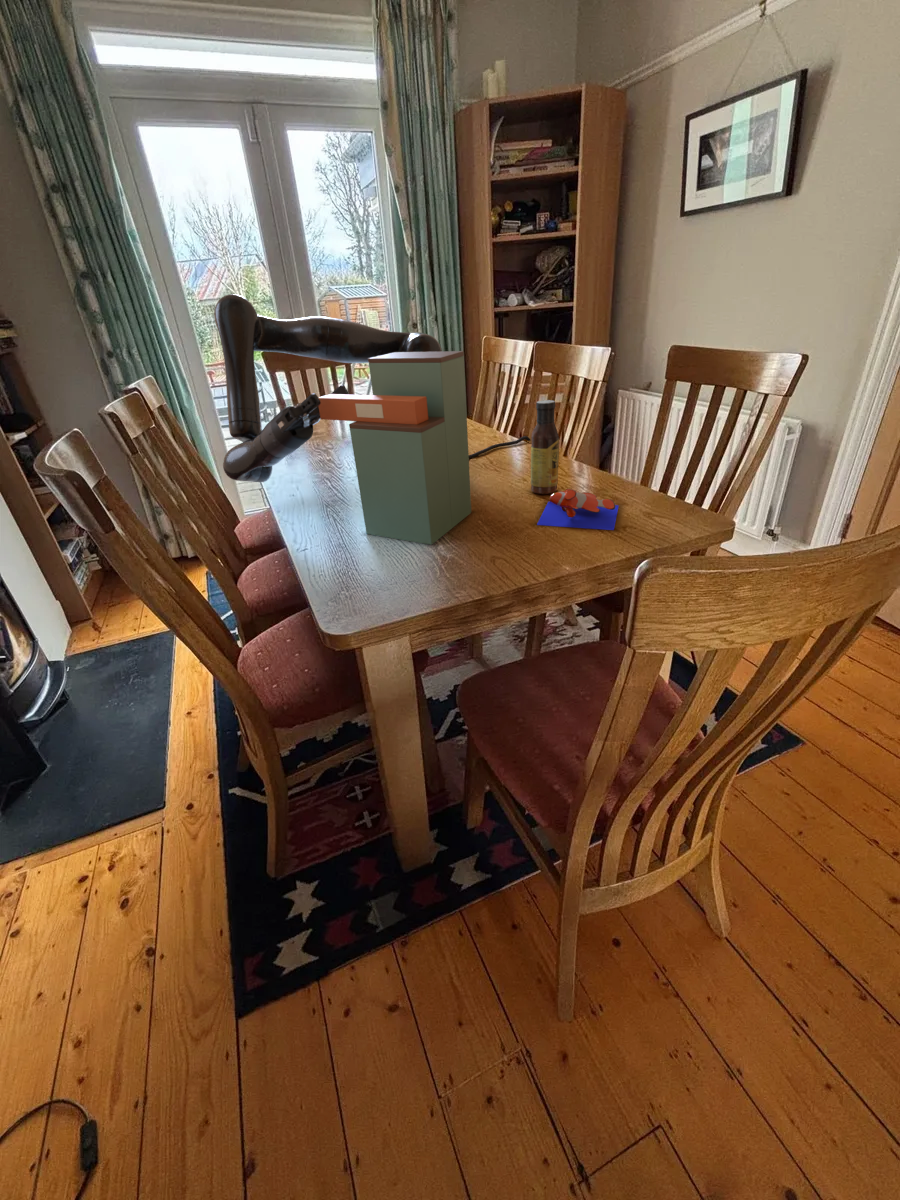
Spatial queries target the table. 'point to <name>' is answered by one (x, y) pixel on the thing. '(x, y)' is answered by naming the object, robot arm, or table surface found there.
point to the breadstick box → (374, 408)
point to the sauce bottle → (544, 450)
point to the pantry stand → (415, 450)
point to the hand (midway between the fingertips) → (331, 393)
